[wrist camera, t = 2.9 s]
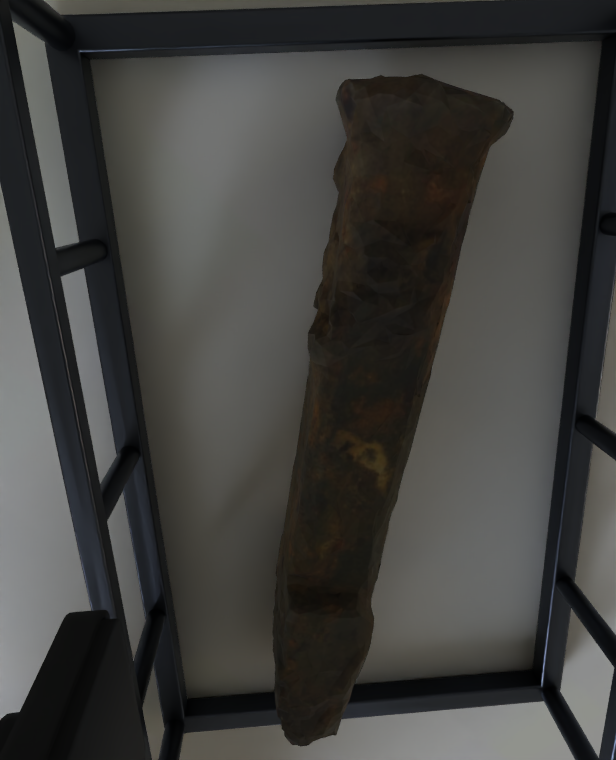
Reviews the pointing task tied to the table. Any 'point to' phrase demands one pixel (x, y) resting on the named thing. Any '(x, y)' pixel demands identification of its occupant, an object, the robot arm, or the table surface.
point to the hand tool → (369, 371)
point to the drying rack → (115, 344)
